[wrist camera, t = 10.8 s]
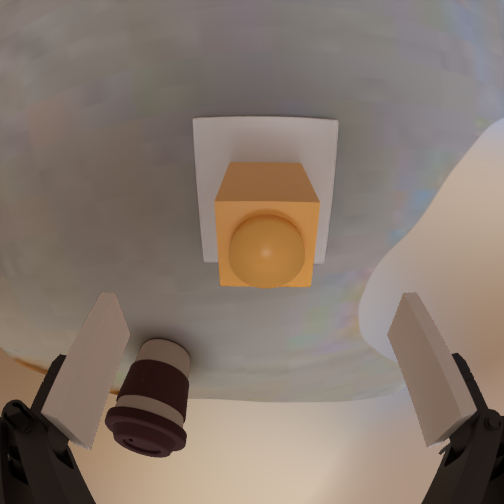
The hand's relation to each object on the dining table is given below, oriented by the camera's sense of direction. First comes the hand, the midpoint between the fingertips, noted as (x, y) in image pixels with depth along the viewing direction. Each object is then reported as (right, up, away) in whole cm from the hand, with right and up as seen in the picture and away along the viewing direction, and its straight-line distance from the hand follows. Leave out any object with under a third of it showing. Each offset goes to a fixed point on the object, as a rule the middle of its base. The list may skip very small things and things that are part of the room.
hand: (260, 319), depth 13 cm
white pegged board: (+1, +8, +14) cm, 16 cm away
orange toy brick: (+1, +8, +13) cm, 15 cm away
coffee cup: (-13, -11, +27) cm, 32 cm away
